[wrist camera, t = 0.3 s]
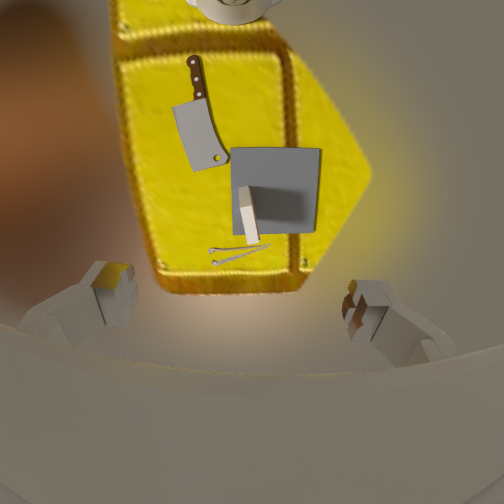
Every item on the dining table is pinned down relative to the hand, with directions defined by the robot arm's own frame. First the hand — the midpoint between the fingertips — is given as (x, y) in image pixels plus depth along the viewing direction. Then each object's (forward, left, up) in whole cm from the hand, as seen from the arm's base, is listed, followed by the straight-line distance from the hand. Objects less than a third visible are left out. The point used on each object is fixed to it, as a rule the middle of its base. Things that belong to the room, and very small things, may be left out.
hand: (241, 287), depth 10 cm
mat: (+11, +8, -47) cm, 49 cm away
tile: (+13, +2, -47) cm, 48 cm away
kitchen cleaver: (-6, -8, -48) cm, 49 cm away
